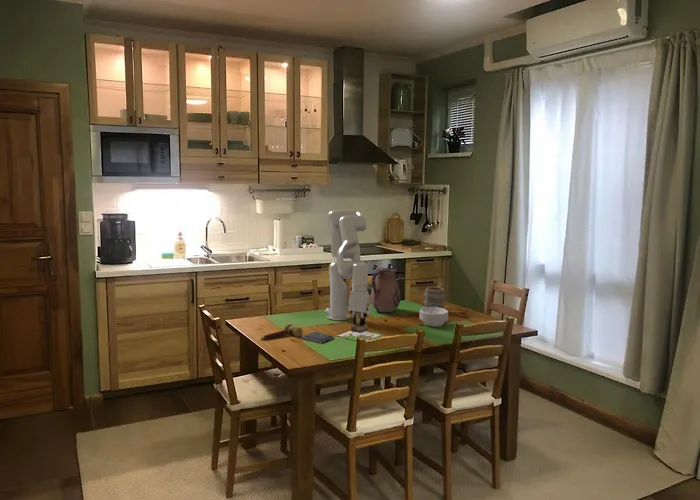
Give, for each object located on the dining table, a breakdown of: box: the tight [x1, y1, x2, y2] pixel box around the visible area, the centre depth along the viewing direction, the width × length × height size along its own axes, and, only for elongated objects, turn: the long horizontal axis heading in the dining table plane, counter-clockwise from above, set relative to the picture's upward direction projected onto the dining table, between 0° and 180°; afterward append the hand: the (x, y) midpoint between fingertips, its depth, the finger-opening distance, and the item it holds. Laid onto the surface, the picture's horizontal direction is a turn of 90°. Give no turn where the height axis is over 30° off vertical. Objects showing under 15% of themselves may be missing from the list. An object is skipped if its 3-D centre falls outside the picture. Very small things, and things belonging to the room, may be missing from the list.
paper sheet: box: [337, 330, 381, 340], centre depth 280 cm, size 16×15×1 cm
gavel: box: [260, 323, 304, 341], centre depth 277 cm, size 21×5×10 cm
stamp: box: [350, 312, 368, 333], centre depth 279 cm, size 6×6×10 cm
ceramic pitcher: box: [369, 267, 401, 313], centre depth 329 cm, size 18×21×25 cm
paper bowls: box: [418, 306, 449, 328], centre depth 303 cm, size 15×15×8 cm
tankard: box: [423, 283, 446, 309], centre depth 334 cm, size 20×13×15 cm, turn 150°
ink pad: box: [301, 331, 335, 344], centre depth 275 cm, size 12×10×2 cm
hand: (359, 324), depth 279 cm, fingers closed on stamp, 3 cm apart
